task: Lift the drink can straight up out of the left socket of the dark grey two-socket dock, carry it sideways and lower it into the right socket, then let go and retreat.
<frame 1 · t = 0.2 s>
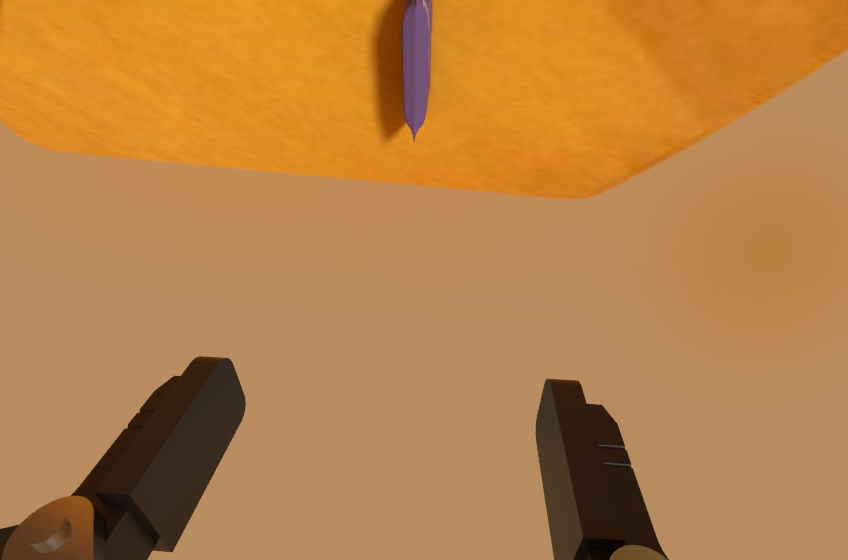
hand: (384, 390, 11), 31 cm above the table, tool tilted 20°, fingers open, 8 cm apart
snack package: (420, 42, 34), on the table
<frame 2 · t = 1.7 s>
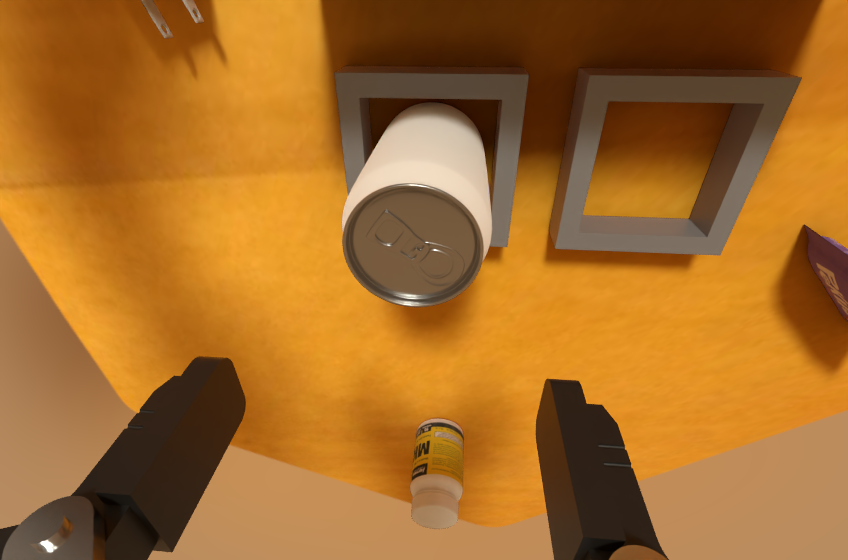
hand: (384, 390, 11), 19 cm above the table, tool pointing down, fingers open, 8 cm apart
can: (432, 153, 27), resting in dock
supplement bottle: (440, 430, 42), on the table
dock: (537, 157, 26), on the table
snack package: (833, 277, 29), on the table
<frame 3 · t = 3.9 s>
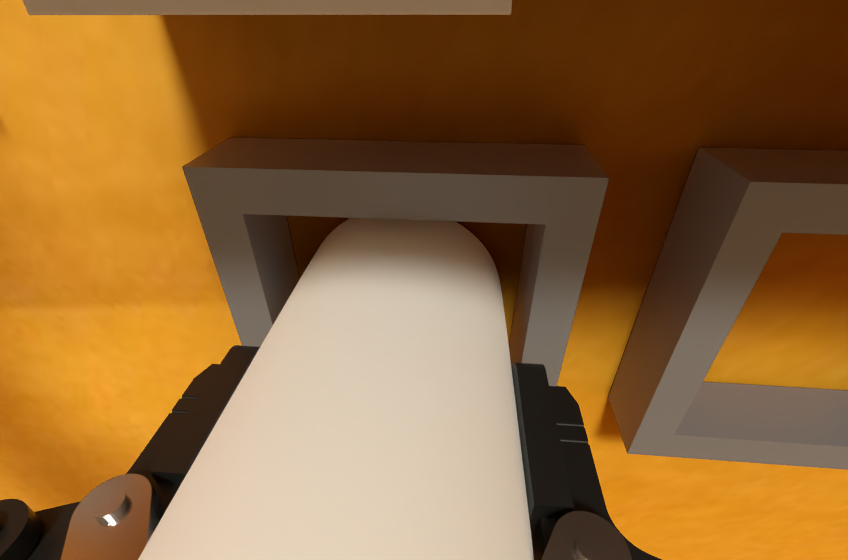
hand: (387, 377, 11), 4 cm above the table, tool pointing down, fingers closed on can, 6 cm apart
can: (407, 283, 15), resting in dock, touching gripper
dock: (598, 295, 14), on the table
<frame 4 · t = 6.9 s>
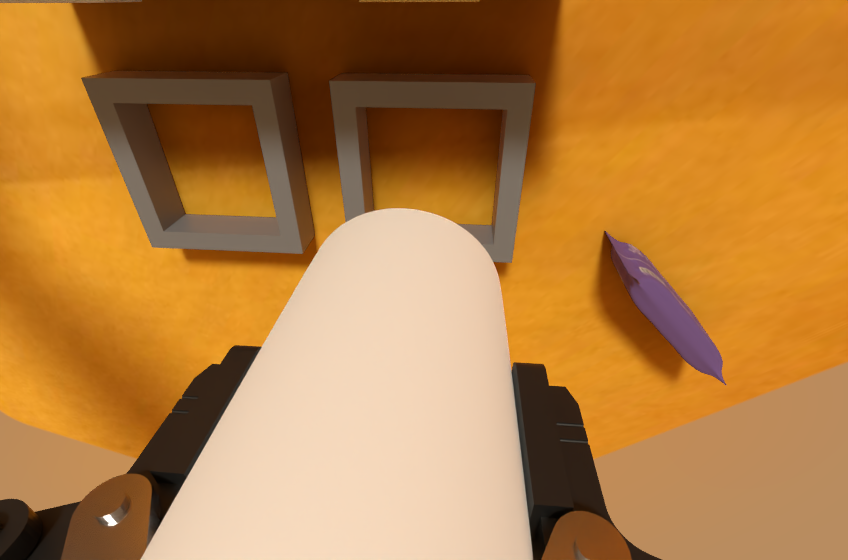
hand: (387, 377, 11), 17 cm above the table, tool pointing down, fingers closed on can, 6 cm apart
can: (407, 284, 15), point 13 cm above the table, touching gripper
dock: (326, 163, 26), on the table
snack package: (650, 283, 29), on the table
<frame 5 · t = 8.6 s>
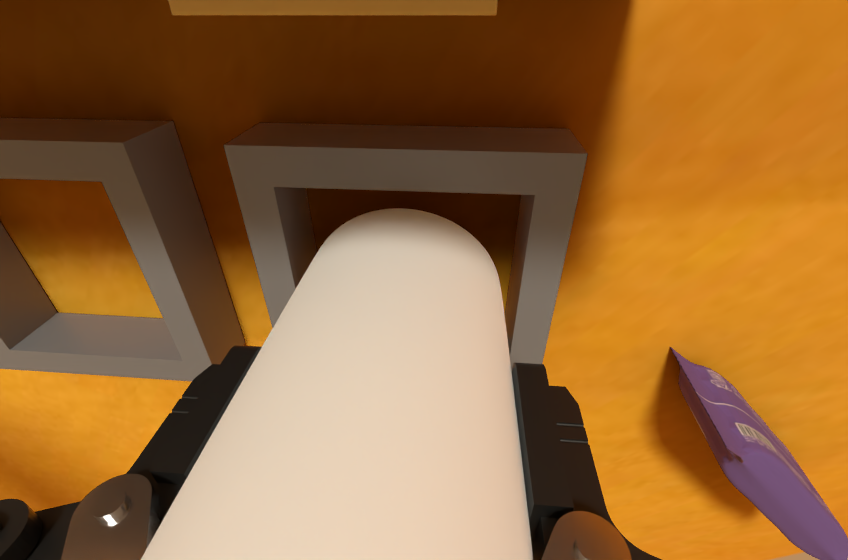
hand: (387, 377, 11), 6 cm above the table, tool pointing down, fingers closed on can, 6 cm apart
can: (407, 284, 15), point 2 cm above the table, touching gripper
dock: (251, 251, 17), on the table
snack package: (728, 410, 20), on the table
when the fingers open (6 cm above the table, at t = 9.8 s): can drops 1 cm, resting in dock.
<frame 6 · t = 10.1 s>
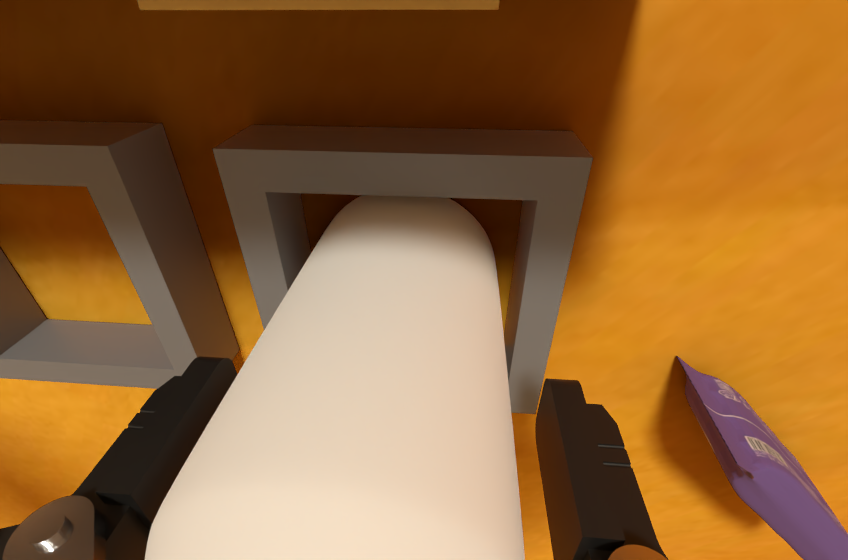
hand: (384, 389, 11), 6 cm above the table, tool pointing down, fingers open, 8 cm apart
can: (409, 260, 16), resting in dock
dock: (244, 257, 16), on the table
snack package: (736, 419, 19), on the table
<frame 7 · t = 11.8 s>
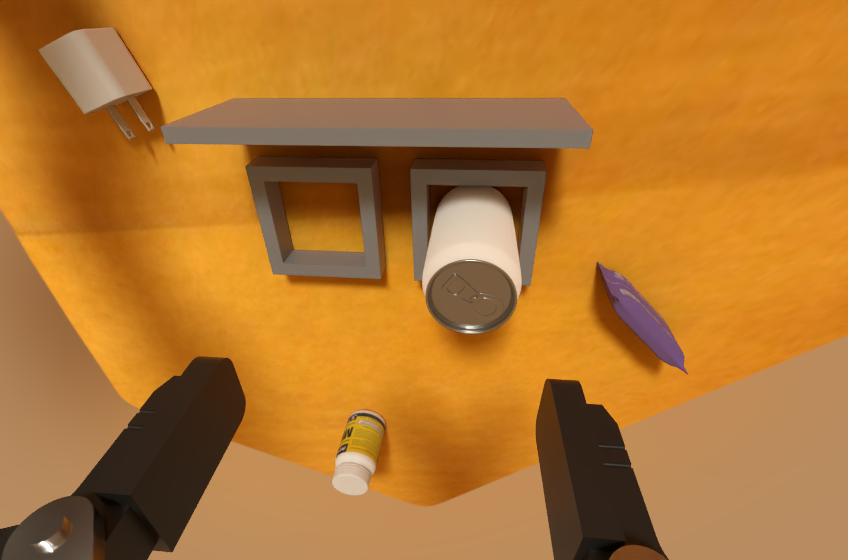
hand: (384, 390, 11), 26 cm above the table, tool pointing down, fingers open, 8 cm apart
can: (473, 216, 36), resting in dock
supplement bottle: (367, 420, 53), on the table
usb wall charger: (131, 84, 33), on the table
dock: (399, 215, 37), on the table
snack package: (632, 299, 39), on the table
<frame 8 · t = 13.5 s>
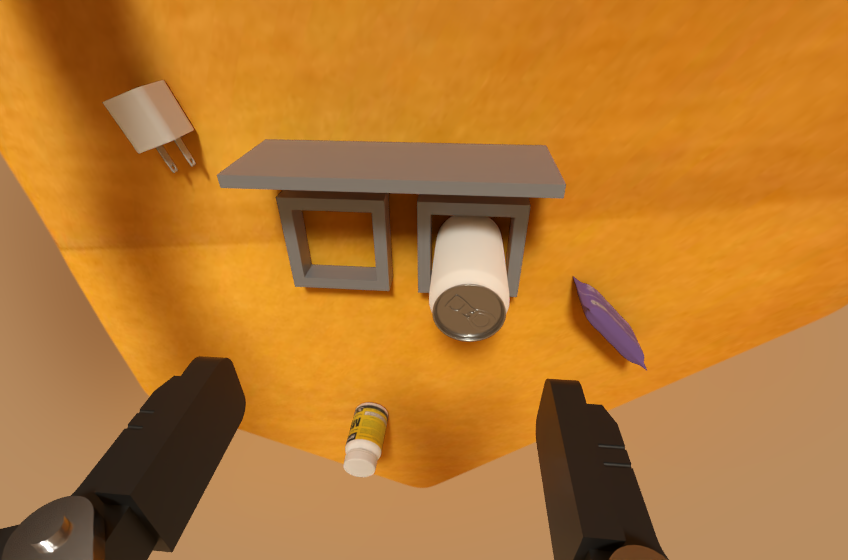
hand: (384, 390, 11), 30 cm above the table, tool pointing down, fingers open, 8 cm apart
can: (469, 238, 42), resting in dock
supplement bottle: (372, 411, 59), on the table
usb wall charger: (175, 125, 38), on the table
dock: (405, 237, 43), on the table
snack package: (603, 307, 46), on the table
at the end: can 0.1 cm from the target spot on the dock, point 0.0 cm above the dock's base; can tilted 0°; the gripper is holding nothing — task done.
